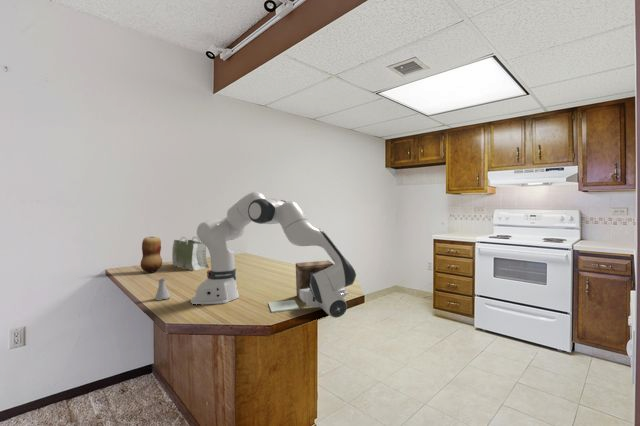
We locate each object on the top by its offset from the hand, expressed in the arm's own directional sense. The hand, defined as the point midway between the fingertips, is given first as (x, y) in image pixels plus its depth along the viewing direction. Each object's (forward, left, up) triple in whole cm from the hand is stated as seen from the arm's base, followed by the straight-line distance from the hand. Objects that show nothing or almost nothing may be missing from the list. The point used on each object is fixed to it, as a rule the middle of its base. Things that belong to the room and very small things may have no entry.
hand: (318, 288), depth 146 cm
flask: (-73, +32, -7) cm, 80 cm away
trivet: (-17, -1, -6) cm, 18 cm away
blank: (0, +7, -6) cm, 9 cm away
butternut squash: (-95, +105, -6) cm, 141 cm away
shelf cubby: (0, +8, -6) cm, 10 cm away
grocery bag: (-70, +113, -7) cm, 133 cm away
